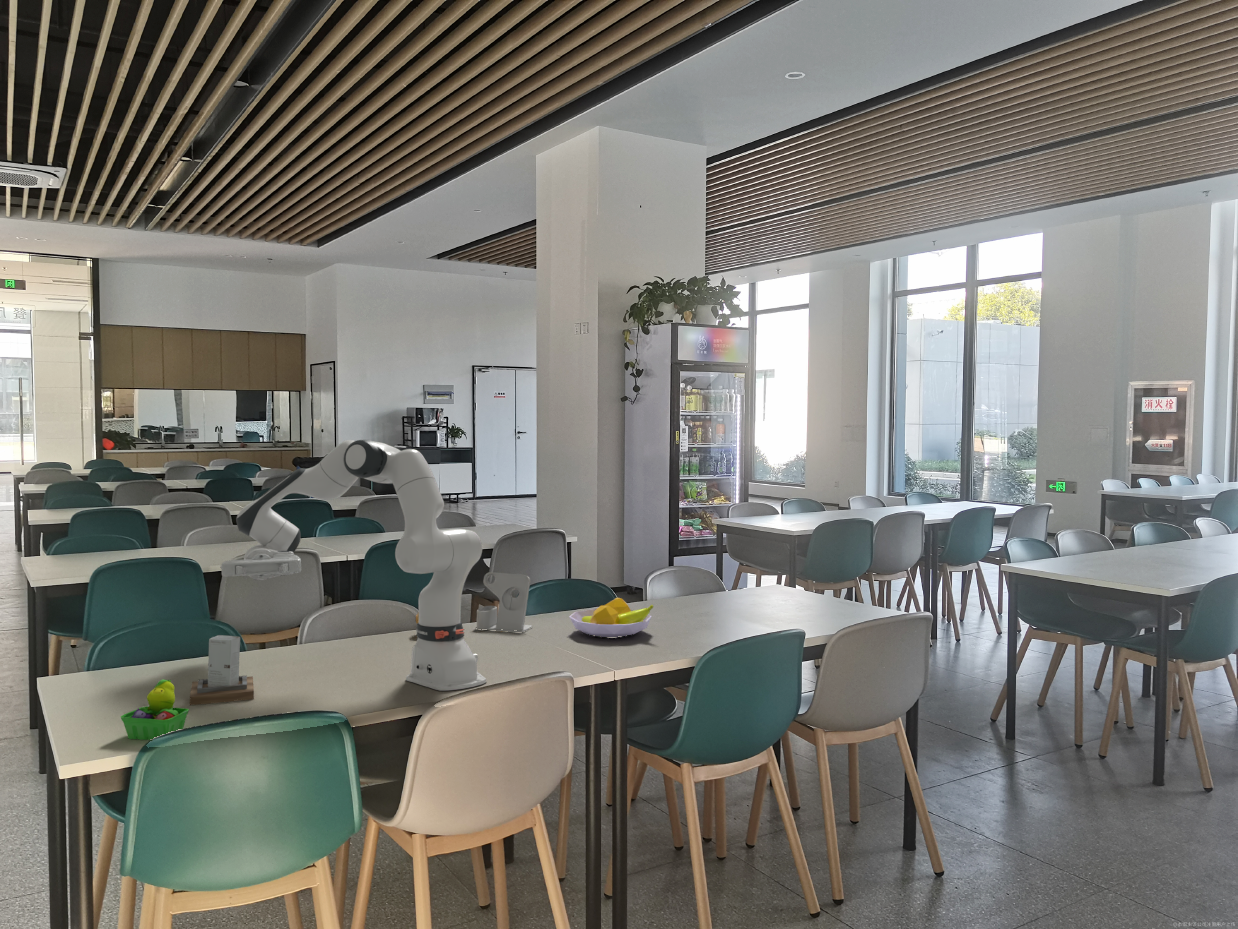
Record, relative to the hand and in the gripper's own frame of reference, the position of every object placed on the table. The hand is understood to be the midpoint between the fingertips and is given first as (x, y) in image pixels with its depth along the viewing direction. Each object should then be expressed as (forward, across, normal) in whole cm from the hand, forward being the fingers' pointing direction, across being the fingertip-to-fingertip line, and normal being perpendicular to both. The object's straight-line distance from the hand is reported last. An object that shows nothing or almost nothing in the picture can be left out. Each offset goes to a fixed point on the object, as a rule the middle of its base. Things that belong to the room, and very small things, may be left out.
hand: (262, 570), depth 238 cm
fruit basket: (+43, -23, +28) cm, 56 cm away
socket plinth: (+16, -10, +28) cm, 34 cm away
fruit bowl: (-11, +106, +29) cm, 110 cm away
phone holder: (-32, +75, +28) cm, 86 cm away
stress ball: (-31, +51, +28) cm, 66 cm away
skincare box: (+16, -10, +26) cm, 32 cm away
